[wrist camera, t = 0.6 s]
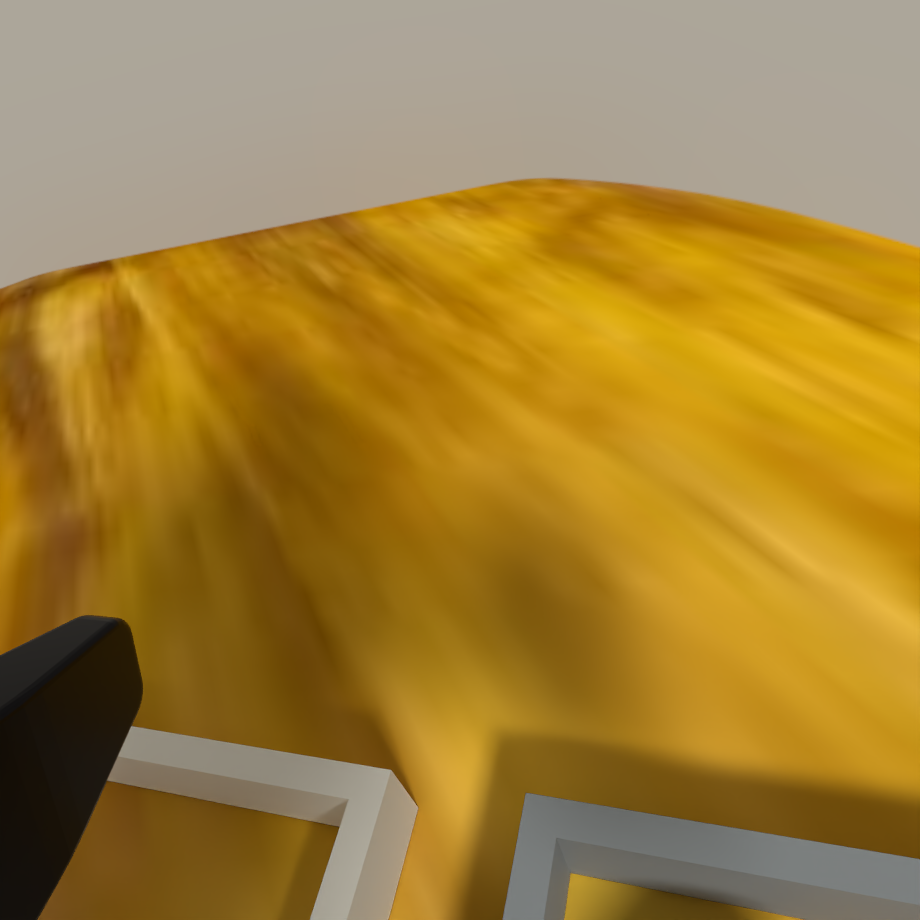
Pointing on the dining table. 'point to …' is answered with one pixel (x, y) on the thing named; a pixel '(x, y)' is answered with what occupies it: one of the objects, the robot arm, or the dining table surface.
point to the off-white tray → (292, 806)
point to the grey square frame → (700, 865)
